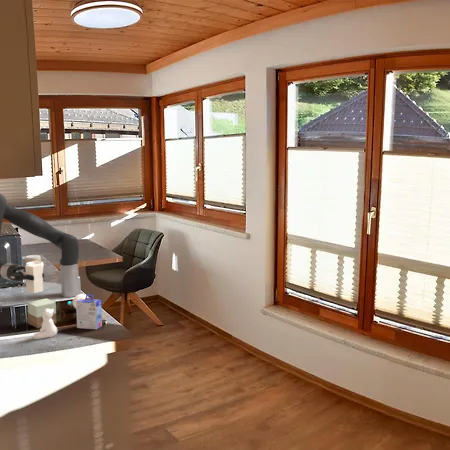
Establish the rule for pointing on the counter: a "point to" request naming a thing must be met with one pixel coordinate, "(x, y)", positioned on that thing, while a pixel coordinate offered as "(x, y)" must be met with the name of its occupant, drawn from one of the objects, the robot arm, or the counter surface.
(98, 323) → the ink cartridge box
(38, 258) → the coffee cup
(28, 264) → the foam cup
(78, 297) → the perfume bottle
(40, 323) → the tower base slab
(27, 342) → the counter surface
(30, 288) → the cream block
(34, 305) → the tower top slab
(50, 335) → the white creature statuette
